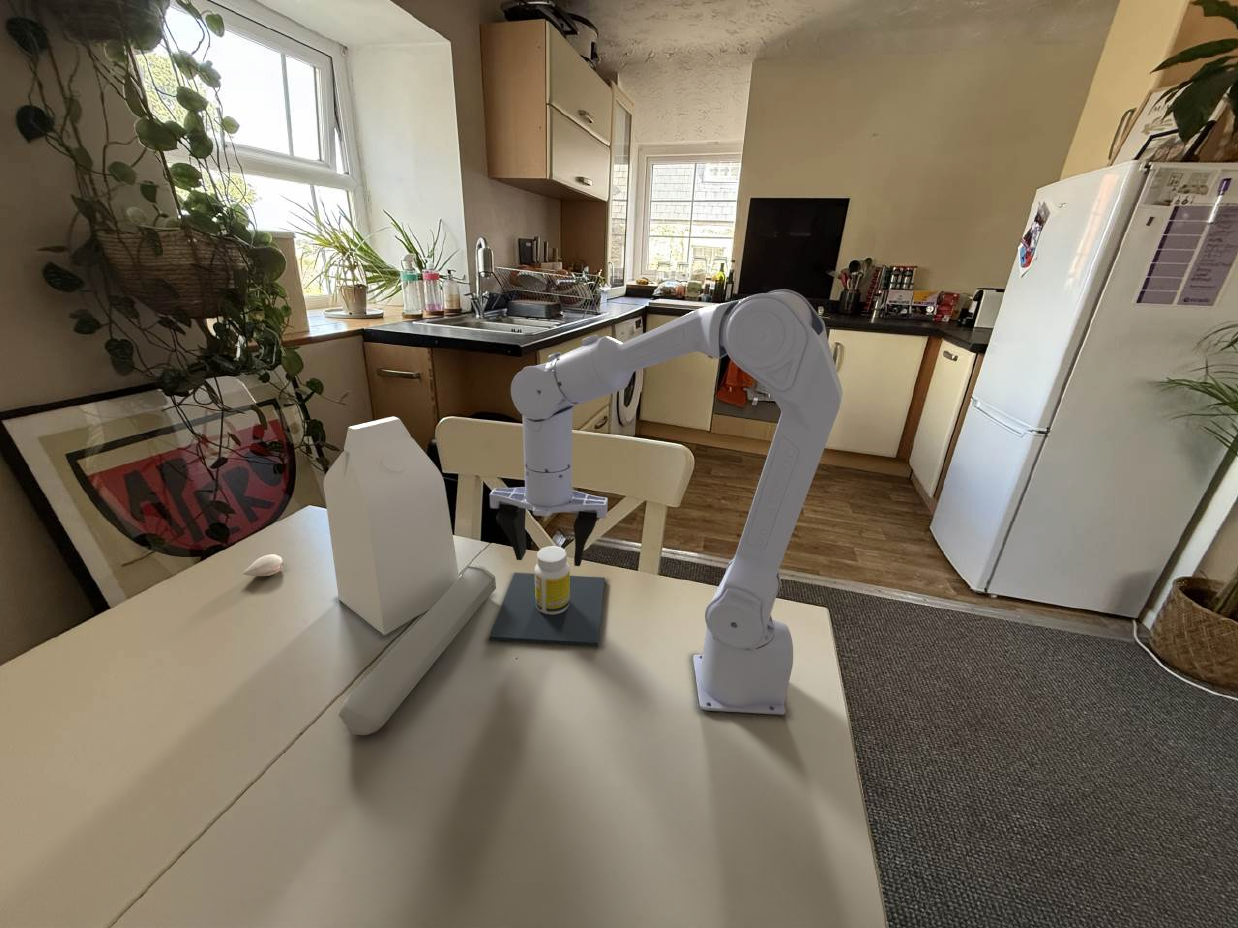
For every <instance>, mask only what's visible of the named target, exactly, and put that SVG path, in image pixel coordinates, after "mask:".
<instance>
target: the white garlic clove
mask: <svg viewBox="0 0 1238 928" xmlns="http://www.w3.org/2000/svg"><path fill="white" fill-rule="evenodd" d="M283 568H284V563H283V558H282V556H280V555H277V554H272V553H271V554H266V555H262V556H261V557H258V558H257V559H255V561H253V562H252V563H251V564H250V565H249V566H248V567H247V568H246V569H245V570H244V571H243V575H244V576H251V577H267V576H268V577H269V576H273V575H275V574H277V573H279V572H281V570H282V569H283Z"/></svg>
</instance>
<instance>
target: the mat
mask: <svg viewBox="0 0 1238 928" xmlns="http://www.w3.org/2000/svg"><path fill="white" fill-rule="evenodd" d="M605 582H606V577H603V576H602V577H601V576H600V577H599V576H585V575H584V576H582V575H581V576H580V575H570V603H569V606H568V608H567V609H566V610H565V611H563V612H562V613H559V614H554V615H550V614H545V613H542V612H540V611H539V610H538V609H537V607H536V597H535V573H527V572H513V576H512V577H511V580H510V584H509V586H508V588H507V591H506V593H505V596H504V599H503V601H502V604H501V607H500V609H499V611H498V614H497V616H496V619H495V622H494V624H493V627H492V629H491V632H490V634H489V640H490V641H499V642H500V641H501V642H518V643H531V644H532V643H534V644H548V645H566V646H567V645H569V646H584V647H586V646H587V647H599V641H600V633H601V623H602V622H601V621H602V612H603V603H604V602H603V601H604V591H605Z"/></svg>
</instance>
